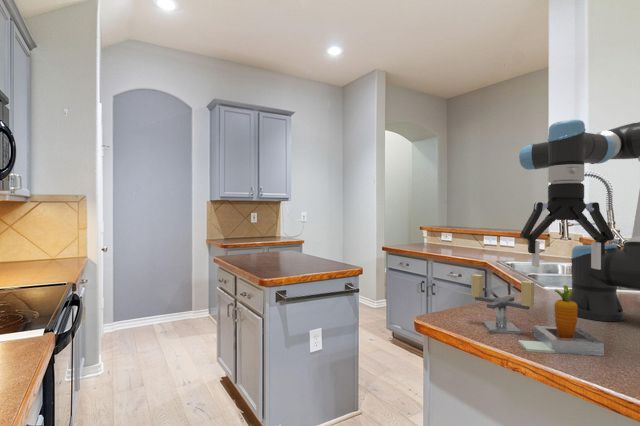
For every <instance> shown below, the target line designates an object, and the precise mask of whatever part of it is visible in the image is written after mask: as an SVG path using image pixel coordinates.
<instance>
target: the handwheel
mask: <svg viewBox="0 0 640 426" xmlns="http://www.w3.org/2000/svg"><path fill="white" fill-rule="evenodd" d="M470 279H471V281H470V282H471V283H470V285H471V287H470V289H471V290H470V291H471V292H470V294H471V295H470V297H474V300H475V301H477V302H478V301H480V302H484V303H487V304H486V309H487V308H488V309H492V310H494V309H495V310H496V308H497V307H500V306H507V307H511V308H515V309H522V310H530V309H531V308H532V307H534V306H535V282H534V281H530V280H529V281H528V280H522V281H521V284H520V286H521V287H520V289H521V290H520V291H521V292H520V296H521V297H520V299H521V300H520V302H516V301H515V297H514V296H510V295H507V296H504V297H486V296H483V295H484V285H483V284H484V281H483V280H484V275H483V274H476V273H475V274H471V278H470Z"/></svg>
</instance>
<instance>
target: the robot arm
mask: <svg viewBox="0 0 640 426" xmlns="http://www.w3.org/2000/svg"><path fill="white" fill-rule="evenodd" d="M586 130H587V129H586V125H585V122H584V121H583V120H581V119H567V120H566V119H565V120H560V121H556V122H554V123H552V124H551V125H550V126H549V128H548V136H547V141H545V142H539V143H532V144H529V145H526V146H524V147H522V148H521V149H520V152H519V154H518V159H519V164H520V167H522V168H523V169H525V170H527V171H528V170H529V171H530V170H540V169H547V182H548V183H549V184H548V186H547V203H545V202H544V203H543V202H540V201H537V202H534V203H533V209H532V213H531V214H530V216H529V217H528V220H527V221H526V223H525V225H524V226H523V229H522V231H521V232H520V234H519V237H520V238H522V239H524V240H527V252H528V253H529V254H531V266H532V267H534V268H540V241H538V238H540V237H541V235H542V234H543V233H544V232H545V231H546V230H547V229H548V228H549V227H550V226H551V225H552V224H553V222H556V221H575V222H577V224H579V225H580V226H581V227H582V228H583V230H585V232H586V233H588V235H589V236H590V237H591V238H592V239H593V241H591V244H588V245H586V244H584V245H576V246H573V248H572V249H571V258H570V261H571V289H572V294H571V296H570V298H569V300H570V301H573V302H575V303H576V304H577V307H578V308H577V318H578V317H579V318H583V319H585V320H586V319H588V320H593V321H599V322H600V321H601V322H621V321H624V319H625V317H624V316H625V311H624V310H623V307H622V304H621V302H620V299H619V296H618V293H617V288H623V289H630V290H636V291H640V189H639V191H638V197H637V203H636V204H637V205H636V210H635V216H634V221H633V228H632V232H631V233H632V234H631V238H629V239H628V240H626V241H624V243H623V246H622V247H623V248H622V249H621V248H620V249H619V248H618V246H617V245H616V244H614V243H608V241H614V239H615V236H614V234H613V231H612V230H611V229H610V227H609V225H608V223H607V221H606V219H605V218H604V215H603V214H602V213H601V209H600V204H599V202H596V201H595V202H589V203H586V202H585V184H584V183H582V182H583V181H585V164H591V165H594V164H603V163H606V162H608V161H609V160H634V159H635V160H636V159H637V160H638V162H640V121H638V122H632V123H628V124H624V125H621V126H618V127H615V128H611V129H608V130H607V129H606V130H603V131H602V130H601V131H598V132H596V133H591V132H587V131H586ZM545 210H547V211H548V214H547V215H546V216H545V217H544V219H543V220H542V221H541V222H540V223H539V224H538V225H537V226H536V224H537V222H538V220H539V219H540V217H541V214H542V213H543V212H544V211H545ZM585 210H586V211H587V212H589V215H590V217H591V219H592V221H593V223H594V224H595V226H596V227H595V226H594V224H592V223H591V221H589V219H588V218H587V216H586V215H585V214H584V213H583V212H584V211H585ZM535 226H536V227H535ZM534 227H535V229H534ZM533 229H534V230H533ZM606 243H608V244H606Z"/></svg>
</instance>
